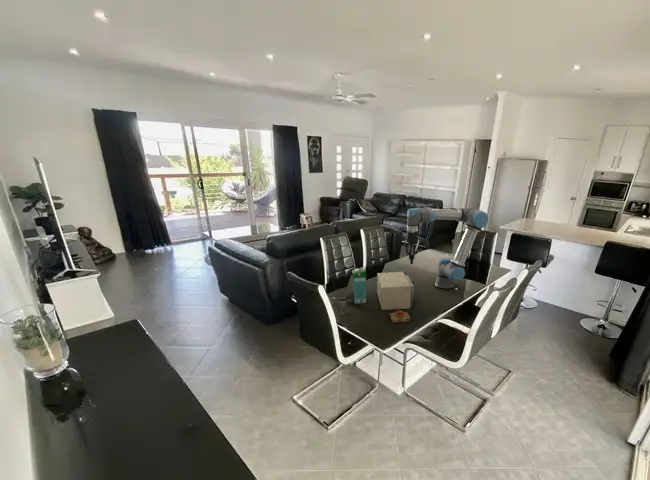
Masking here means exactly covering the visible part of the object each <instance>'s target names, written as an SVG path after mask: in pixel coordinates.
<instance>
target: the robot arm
mask: <svg viewBox="0 0 650 480" xmlns="http://www.w3.org/2000/svg"><path fill="white" fill-rule="evenodd" d="M406 216H407V217H406V223H407V224H406V238H405V240H403V241H402V243H403V244H404V249H405V253H406V255H407V256H408V260H409V264H410V265H413V264H414V260H415V258H416V257H415V256H416V255H418V252H419V249H420V246H421V244H422V240H420V239H419V237H418V236H419V223H432V222H434V221H435V220H446V221H447V220H449V221H456V222H462V223H466V224H465V231H464V233H463V235H462V238H461V240H460V242H459V244H458V247H457V249H456V252H455V255H454V256H453V257H441V258H439V260H438V268H437V269H438V270H437V277H436V280H435V282H434V286H435V287H436V288H438V289H440V290H441V289H443V290H452V289H454V287H455V286H458V287H459V286H460V285H459V284H458V283H456V282H459V281H461V280H463V279H464V277H465V276H466V272H465V271H466V270H465V268H466V264H465V263H466V261H467V258H468V256H469V254H470V251H471V249H472V247H473V245H474V242H475V240H476V237H477V235H478V234H479V233H480V232H481V231H482V229H484V228H485V227H486V226H487V225H488V224H489V216H488V214H487V213H486V212H485V211H484V210H480V209H476V208H475V207H468V208H467V207H463V208H462V207H461V208H460V207H458V208H456V209H455V208H454V209H452V208H451V209H450V208H425V207H413V208H408V209H407V215H406ZM407 243H408V244H407Z"/></svg>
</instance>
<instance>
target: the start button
mask: <svg viewBox="0 0 650 480" xmlns="http://www.w3.org/2000/svg"><path fill="white" fill-rule="evenodd" d="M396 312H397V315H403V312H404V311H403V309H397V310H396Z"/></svg>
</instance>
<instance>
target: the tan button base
mask: <svg viewBox="0 0 650 480" xmlns="http://www.w3.org/2000/svg"><path fill="white" fill-rule="evenodd" d="M389 318H390V322H391V323H393V324H395V323H407V322H411V317H410V315H409V312H408V311H407V312H406V311H403V315H397V311H395V312H390V313H389Z"/></svg>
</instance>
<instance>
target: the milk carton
mask: <svg viewBox="0 0 650 480" xmlns="http://www.w3.org/2000/svg"><path fill="white" fill-rule="evenodd" d="M352 285H353V286H352V287H353V304H354V305H355V304H356V305H357V304H367V303H368V302H367V301H368V300H367V299H368V298H367V269H366V266H363V267H359V268H357V267H356V268H354V269H352Z"/></svg>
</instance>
